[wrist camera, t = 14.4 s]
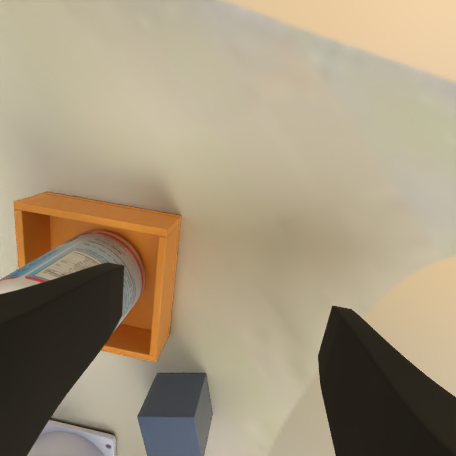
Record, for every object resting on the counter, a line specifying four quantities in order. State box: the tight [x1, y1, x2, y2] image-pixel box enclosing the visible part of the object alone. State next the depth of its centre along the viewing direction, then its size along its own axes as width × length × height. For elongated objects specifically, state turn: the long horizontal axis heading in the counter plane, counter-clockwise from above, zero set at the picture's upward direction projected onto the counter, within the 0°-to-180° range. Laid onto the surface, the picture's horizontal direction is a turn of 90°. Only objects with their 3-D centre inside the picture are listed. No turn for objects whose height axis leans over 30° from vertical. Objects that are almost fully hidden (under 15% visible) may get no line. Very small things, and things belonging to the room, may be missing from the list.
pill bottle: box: [0, 231, 145, 332], centre depth 17 cm, size 6×6×11 cm
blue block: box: [137, 374, 213, 456], centre depth 24 cm, size 4×4×4 cm
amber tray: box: [14, 192, 181, 362], centre depth 22 cm, size 10×10×3 cm
